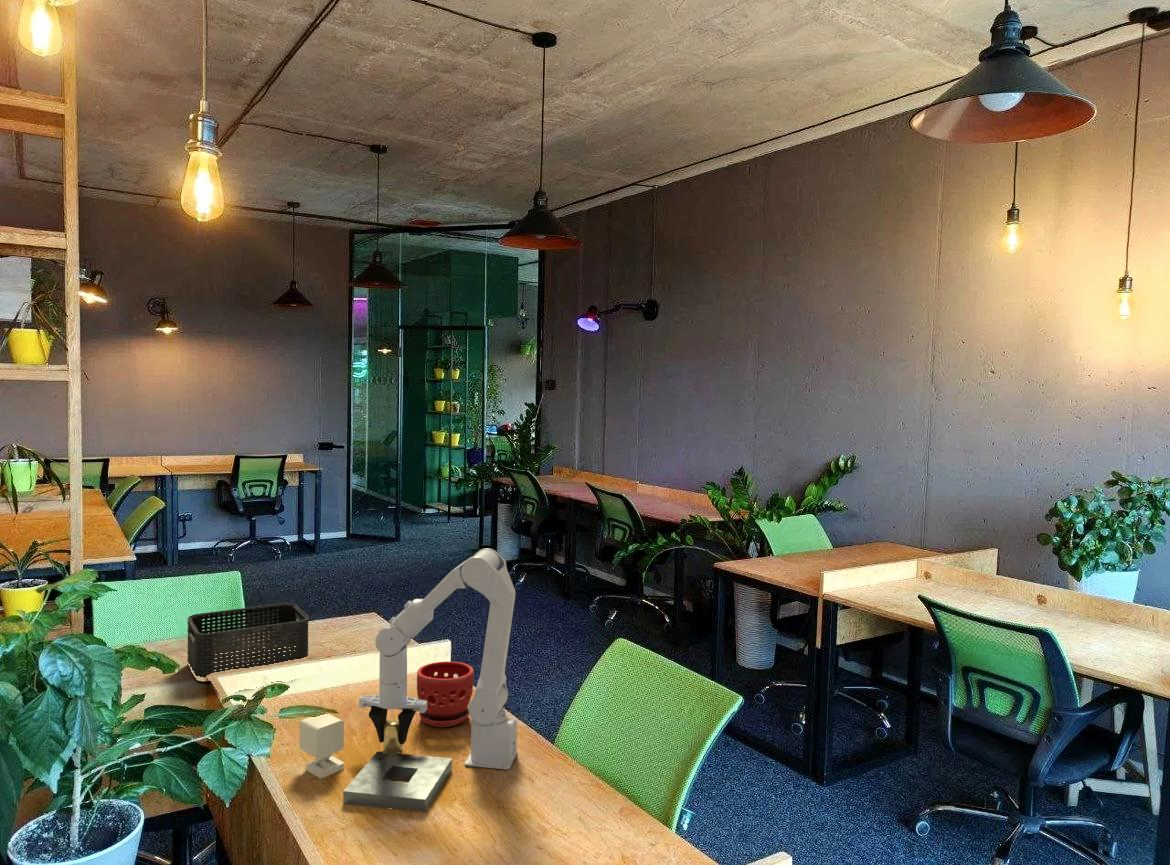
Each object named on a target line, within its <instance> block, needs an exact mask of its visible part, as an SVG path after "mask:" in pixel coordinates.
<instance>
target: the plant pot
mask: <svg viewBox="0 0 1170 865" xmlns="http://www.w3.org/2000/svg"><path fill="white" fill-rule="evenodd" d="M435 673H437V674H436V675H435ZM445 674H447V676H445ZM474 674H475V672H474V668H473V667H472V666H471V665H470V664H466V663H464V662H459V661H438V662H437V661H436V662H432V663H428V664H427V663H426V664H424V665H422V666H421V667H419V668H418V669H417V672H416V694H417V699H419V700H425V701H427V710H426V711H425V713H420V712H419V713H418V715H419V718H420V720H421V721H422V722H423V723H424V724H426V725H428V726H431V727H437V728H444V727H447V728H449V727H453V726H457V725H461V723H464V722H465V721H466V720H468V718H469V716H470V714H469V709H468V708H469V703H470V702H471V700H472V699H471V698H472V695H473V690H474V689H473V688H474V678H475V677H474ZM454 675H457V677H454Z"/></svg>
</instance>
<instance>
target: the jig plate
mask: <svg viewBox="0 0 1170 865" xmlns="http://www.w3.org/2000/svg"><path fill="white" fill-rule="evenodd" d="M452 762H453V758H451V757H450V758H449V757H441V756H432V755H431V756H430V755H420V754H408V753H401V752H400V753H389V752H383V751H376V752H375V754H374V755H372V757H371V758H370V759H369V761H367V763H366V764H365V765H364V766H363V767H362V768H361V770H360V771H359V772H358V773H357V774H356V776H355V777H354V778H353V779H352V780H351V782H350V783H349V784H348V785H347V786H346V788H344V789H343V791H342V793H343V794H342V796H343V798H342V799H343V800H342V804H343V805H349V806H361V807H368V806H369V807H370V806H371V807H370V808H377V807H381V808H380V809H387V808H392V809H391V810H396V809H399V810H398V811H405V810H409V811H408V812H415V811H419V812H418V813H424V812H425V813H426V812H427V811H426V810H428V809H429V807H430V806H431V804H432V803H433V801H434V799H435V798H436V796H437V795H438V793H439V792H440V789H441V788H442V787H443V785H444V784H445V783H446V781H447V779H448V777H449V775H450V774H451V772H452V770H453V768H452V767H453V763H452ZM392 779H398V780H408V782H406V781H398V780H397V781H396V780H392ZM429 805H430V806H429ZM420 811H421V812H420Z"/></svg>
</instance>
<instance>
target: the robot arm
mask: <svg viewBox="0 0 1170 865" xmlns="http://www.w3.org/2000/svg"><path fill="white" fill-rule="evenodd" d="M467 587H470V588H472V589H473V590H475V591H476V592H478V593H480V594H482V595H483V596H484V598H486V599H487V600H488V601H489V611H488V618H487V624H486V633H485V638H484V645H483V653H482V661H481V668H480V674H479V678H478V680H477V684H476V687H475V690H474V691H475V692H474V695H473V697H472V699H470V702H469V704H468V709H469V716H470V718H471V720H470V721H471V722H470V724H471V726H470V737H471V738H470V752H469V755H468V757H467V758H466V760H465V762H464V766H467V767H475V768H476V767H477V768H487V769H488V768H489V769H498V770H505V771H506V770H509V769H510V768H511V767H512V764H513V762H514V760H515V758H516V756H517V754H518V749H517V748H518V744H517V743H518V722H517V720H516V719H514V718H510V717H508V716H507V714H506V711H505V708H504V705H505V704H506V703H507V701H508V700H509V699H508V698H509V689H508V687H507V683H506V682H507V675H506V674H505V672H506V665H507V656H508V650H509V643H510V637H511V636H510V635H511V629H512V622H513V614H514V608H515V600H516V588H515V587H514V584H513V580H512V578H511V576H510V573H509V572H508V568H507V561H506V560H505V559H504V558H503V557H502V556H501V555H500V554H499V552H497V551H496V550H494V549H493V548H481V549H479V550H478V551H477V552H475V554H474V555H473V556H471V557H469V558H468V559H466V560H464V561H463V562H462V563H460V564H458V566H456V567H455V568H453V569H452V570H451V571H450V572H449V573H448V574H446V576H444V578H443V579H442V580H440V582H439V583H438V584H437V585H436V586H435V587H434V588H433V589H432V590H431V591H429V593H428V594H427V595H426V596H425V597H424V598H415V599H413V600H412V601H411V600H408V601H407V602H406V603H405V604H404V605H403V608H404V609H403V610H402V611H401V612H400V613H398V614H397V616H396V617H395V616H392V617H391V619H389V621H388V622H389V624H388V625H386V626H385V627H384V628H381V629H380V630H379V632H378V633H377V635H376V637H375V647H376V649H377V650H378V652H379V687H378V688H379V692H378V693H379V694H374V695H365V694H364V695H362V696H360V698H359V699H358V708H360V709H361V708H362V709H364V708H365V707H367V708H370V711H369V712H368V717H369V718H370V720H371V721H372V724H373V726H374V728H375V730H376V733H377V734H376V735H377V738H378V741H379V743H380V744H381V743H382V744H383V723H384V722H385V721H387V720H388V719H387V718H388V717H387V716H388V710H398V711H399V710H401V712H399V713H398V715H397V719H398V720H399V726H400V744H402V746H403V745H404V744H405V743H406V742H407V739H408V738H407V737H408V734H409V729H410V726H411V724H412V721H413V719H414V717H415V715H416V712H419V713H425V711H426V710H427V701H425V700H419V699H418V698H415V697H412V696H408V653H407V652H408V645H409V644H410V642H411V640H412V639H414V638H415V637H416V636H417V635H418V634H419V633H420V632H421V631H422V630H423V629H424V628H425V627H426V626H427V625H428V624H429V623H430V622H432V620H434V616H435V615H434V610H435V609H436V608H437V607H438V606H439V605H441V603H443V602H444V600H446V599H447V598H448V597H449V596H450V595H452V594H453V592H455V591H456V590H457V589H466V588H467Z"/></svg>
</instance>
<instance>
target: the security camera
mask: <svg viewBox="0 0 1170 865" xmlns="http://www.w3.org/2000/svg"><path fill="white" fill-rule="evenodd" d="M344 725H345V724H344V721H343V720H342V719H340V718H337V716H334V715H332V714H330V713H328V714H324V715H320V716H317V717H311V716H309V717H306V718H304V719H301V721H300V722H299V749H300V750H301V751H303V752H305V753H307V754H308V755H310V756H312V757H314V758H315V759H314V760H311V761H309V762H306V763H305V770H306V771H307V772H309V773H310V774H312V775H313V776H315V777H317V778H318V779H324V778H327V777H329V776H331V775H333V774H335V773H338V772H341V771H343V770H344V769H345V768H344V767H345V762H343V761H342V760H340V759H339V758H336V757H335V756H333V755H334V754H335V753H338V752H340V751H342V750H343V749H344V744H345V742H344V741H345V740H344V739H345V737H344V736H345V735H344V733H345V732H344V731H345V729H344V727H345V726H344Z"/></svg>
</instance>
